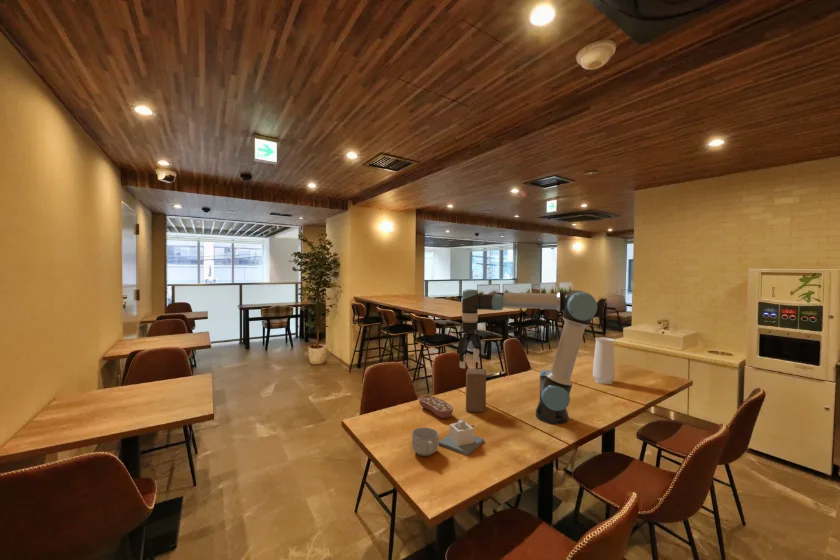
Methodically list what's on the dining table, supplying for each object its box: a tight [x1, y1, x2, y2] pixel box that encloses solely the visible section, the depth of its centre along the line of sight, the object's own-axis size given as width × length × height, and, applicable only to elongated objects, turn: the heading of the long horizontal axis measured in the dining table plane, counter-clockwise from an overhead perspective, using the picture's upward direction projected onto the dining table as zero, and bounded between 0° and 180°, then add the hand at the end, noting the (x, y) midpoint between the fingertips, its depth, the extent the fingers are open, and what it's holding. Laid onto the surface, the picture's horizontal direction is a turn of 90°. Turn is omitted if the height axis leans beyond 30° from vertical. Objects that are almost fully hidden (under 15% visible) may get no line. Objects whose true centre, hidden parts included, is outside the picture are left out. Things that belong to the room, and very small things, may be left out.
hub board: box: [438, 419, 485, 456], centre depth 147 cm, size 14×14×9 cm
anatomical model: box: [418, 395, 454, 419], centre depth 178 cm, size 23×10×5 cm, turn 34°
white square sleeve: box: [449, 421, 475, 446], centre depth 147 cm, size 9×7×6 cm
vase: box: [592, 336, 616, 385], centre depth 226 cm, size 13×13×28 cm
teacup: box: [411, 426, 440, 457], centre depth 138 cm, size 14×11×8 cm
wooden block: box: [465, 368, 487, 413], centre depth 183 cm, size 10×10×20 cm
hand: (469, 364), depth 170 cm, fingers open, 13 cm apart
